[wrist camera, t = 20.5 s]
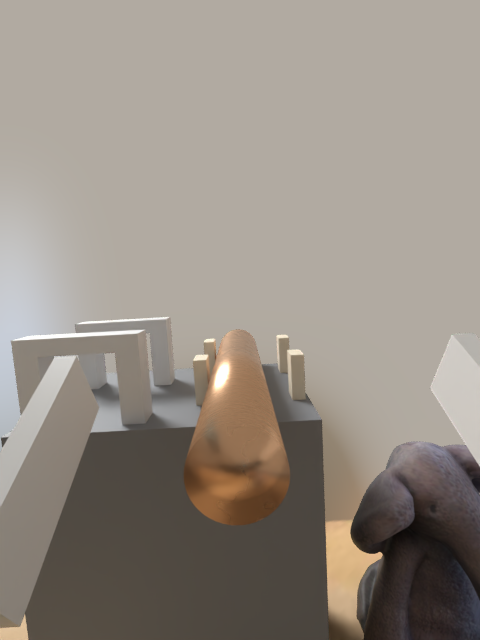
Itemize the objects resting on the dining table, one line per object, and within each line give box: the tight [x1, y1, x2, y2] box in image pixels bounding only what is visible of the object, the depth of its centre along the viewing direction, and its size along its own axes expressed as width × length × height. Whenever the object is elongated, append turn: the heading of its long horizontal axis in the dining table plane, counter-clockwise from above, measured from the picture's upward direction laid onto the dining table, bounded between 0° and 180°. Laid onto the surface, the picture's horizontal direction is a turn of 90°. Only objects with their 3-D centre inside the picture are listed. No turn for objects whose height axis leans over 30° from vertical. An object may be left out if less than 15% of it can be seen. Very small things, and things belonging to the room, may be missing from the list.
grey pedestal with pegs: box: [1, 317, 329, 640], centre depth 32 cm, size 21×16×34 cm
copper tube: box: [184, 329, 290, 525], centre depth 26 cm, size 26×4×4 cm, turn 0°
